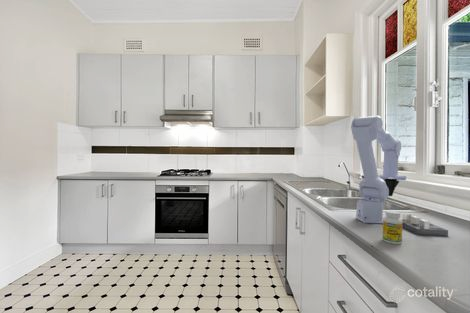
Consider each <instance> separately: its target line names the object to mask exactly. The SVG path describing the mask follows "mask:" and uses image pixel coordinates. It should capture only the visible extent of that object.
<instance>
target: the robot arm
mask: <svg viewBox="0 0 470 313" xmlns="http://www.w3.org/2000/svg"><path fill="white" fill-rule="evenodd" d="M383 125H384V124H383V118H382V117H381V116H380V115H373V116H360V117H354V118H353V120H352V121H351V125H350V130H351V134H352V137H353V140H354V141H356V146H357V150H358V154H359V160H360V164H361V168H362V169H361V170H362V173H363V178H362V179H361V180H360V182H359V184H358V186H359V187H358V188H359V190H358V191H359V192H358V193H359V196H360V197H361V199H358V200H357V201H356V215H355V218H356V219H357V220H359V221H361V222H362V223H364V224H383V219H384V217H383V215H384V202H386V201H387V199H388V198H389V197H392V196H393V195H394V192H395V189H396V187H397V186H398V184H399V183H400V181H407V176H406V175H398V173H399V157H400V155H401V150H402V142H401V140H398V139H396V138H394V137H395V136H393V135H392V134H391V133H390V132H389V131H388V130H387V131H386V130H385V129H384V127H383ZM375 140H376V141H377V142H378V143H379V144H380V147H381V150H382V152H383V163H382V164H383V170H382V174H379V173H378V169H377V163H376V158H375V154H374V153H375V152H374V149H373V145H372V144H373V141H375Z"/></svg>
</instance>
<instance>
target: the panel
mask: <svg viewBox="0 0 470 313" xmlns="http://www.w3.org/2000/svg"><path fill="white" fill-rule="evenodd" d="M411 216H412V214H411V213H408V212H402V219H401V220H402V222H403V224H402V229H404V230H407V231H409V232H411V233H413V234H415V235H418V236H437V237H439V236H441V237H449V230H448V229H446V228H443V227H442V226H438V225H436V224H433V223H430V221H428V220H427V219H421V218H420V219H419V224H413V223H411Z"/></svg>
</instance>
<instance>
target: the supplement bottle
mask: <svg viewBox="0 0 470 313" xmlns="http://www.w3.org/2000/svg"><path fill="white" fill-rule="evenodd" d="M382 220H383V223H382V241H383V242H385V243H388V244H392V245H401V244H402V243H403V228H402V224H403V222H402V220H403V219H401V212H399V211H396V210H395V211H394V210H386V211H385V216H384V217H383V219H382Z"/></svg>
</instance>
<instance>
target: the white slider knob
mask: <svg viewBox="0 0 470 313" xmlns="http://www.w3.org/2000/svg"><path fill="white" fill-rule="evenodd" d="M420 219H421V218H420V217H419V216H415V215H411V223H413V224H419V220H420Z"/></svg>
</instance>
